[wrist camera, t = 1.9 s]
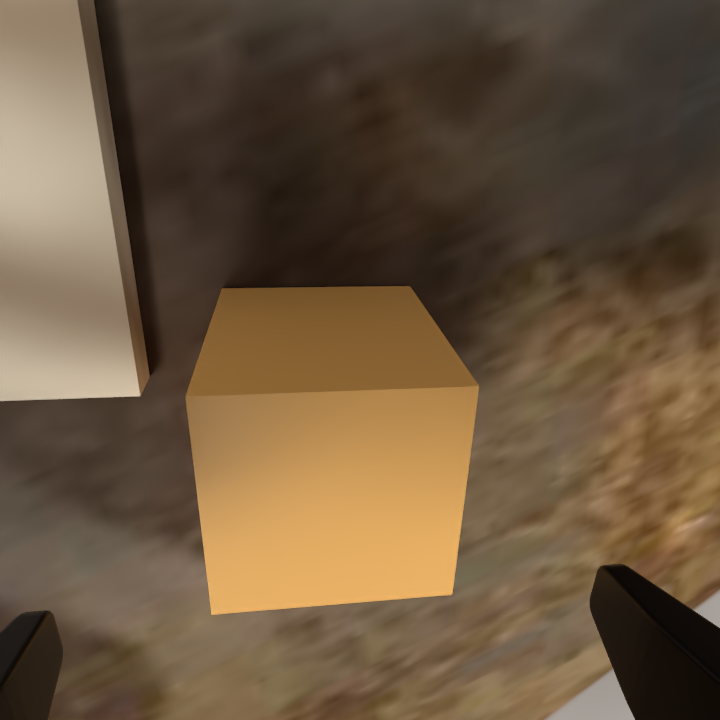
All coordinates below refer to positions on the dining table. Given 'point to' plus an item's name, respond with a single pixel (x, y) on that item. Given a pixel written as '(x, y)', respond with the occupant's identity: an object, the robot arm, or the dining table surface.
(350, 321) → the block
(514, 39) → the dining table surface
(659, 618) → the robot arm
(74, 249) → the board
